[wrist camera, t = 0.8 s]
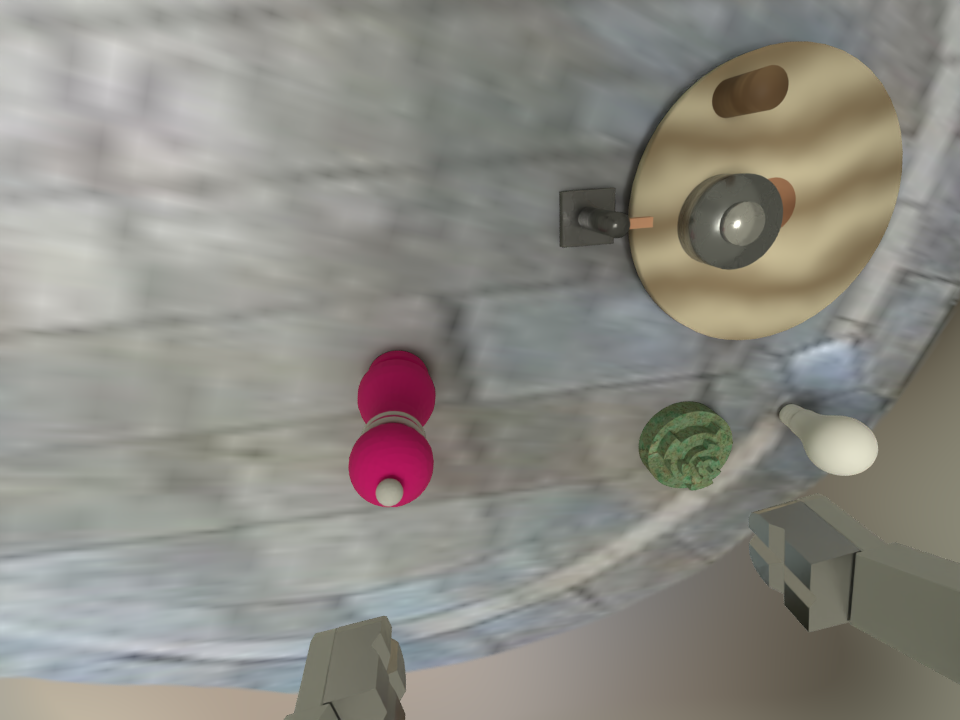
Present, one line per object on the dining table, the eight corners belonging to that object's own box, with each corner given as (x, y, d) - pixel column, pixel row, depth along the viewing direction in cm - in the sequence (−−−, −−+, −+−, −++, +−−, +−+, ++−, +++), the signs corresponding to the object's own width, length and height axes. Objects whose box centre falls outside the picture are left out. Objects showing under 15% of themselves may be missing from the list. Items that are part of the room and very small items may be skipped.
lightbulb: (750, 413, 56) (825, 465, 46) (792, 376, 55) (878, 422, 45) (776, 442, 58) (853, 498, 48) (817, 408, 57) (904, 457, 47)
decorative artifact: (668, 388, 54) (622, 459, 57) (703, 417, 47) (649, 496, 50) (734, 418, 56) (687, 485, 59) (776, 450, 50) (721, 523, 53)
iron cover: (673, 186, 42) (697, 187, 39) (759, 163, 43) (790, 162, 39) (680, 273, 45) (703, 281, 42) (760, 251, 46) (789, 257, 42)
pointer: (559, 246, 46) (587, 259, 39) (559, 191, 45) (588, 194, 37) (614, 241, 47) (652, 253, 39) (616, 187, 45) (656, 189, 38)
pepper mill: (443, 357, 49) (461, 468, 30) (420, 418, 51) (424, 555, 32) (374, 336, 47) (348, 438, 29) (353, 399, 49) (317, 533, 31)
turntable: (610, 87, 40) (645, 72, 34) (899, 12, 41) (983, -16, 35) (643, 363, 50) (675, 389, 44) (876, 298, 51) (939, 314, 45)
